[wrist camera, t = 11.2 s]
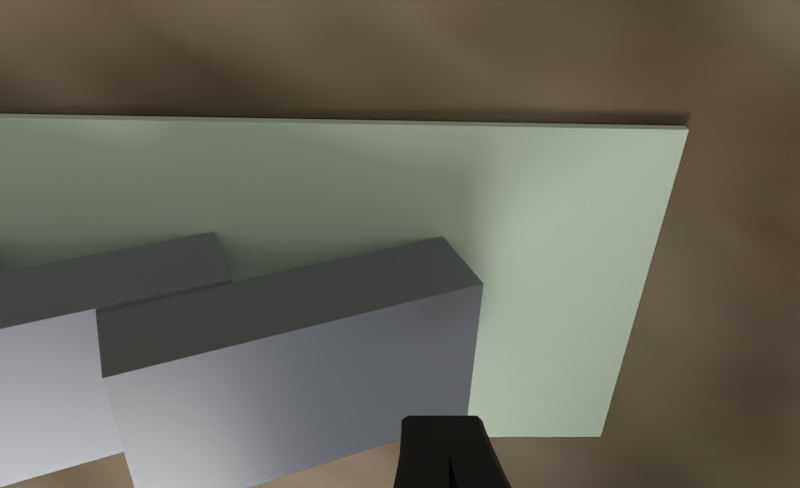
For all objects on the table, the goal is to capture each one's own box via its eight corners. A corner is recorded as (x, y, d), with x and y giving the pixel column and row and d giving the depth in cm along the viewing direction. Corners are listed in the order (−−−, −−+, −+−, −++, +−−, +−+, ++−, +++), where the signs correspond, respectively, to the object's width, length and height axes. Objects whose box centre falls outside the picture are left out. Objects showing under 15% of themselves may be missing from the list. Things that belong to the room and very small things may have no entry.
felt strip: (598, 431, 19) (600, 436, 19) (-398, 431, 18) (-405, 437, 17) (685, 126, 14) (688, 130, 14) (-698, 101, 13) (-712, 105, 12)
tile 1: (483, 283, 13) (102, 378, 11) (467, 417, 16) (144, 521, 13) (442, 236, 15) (95, 311, 12) (432, 365, 17) (134, 451, 14)
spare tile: (231, 279, 13) (-215, 375, 11) (249, 415, 15) (-121, 521, 13) (213, 232, 15) (-187, 307, 12) (232, 363, 17) (-106, 450, 14)
